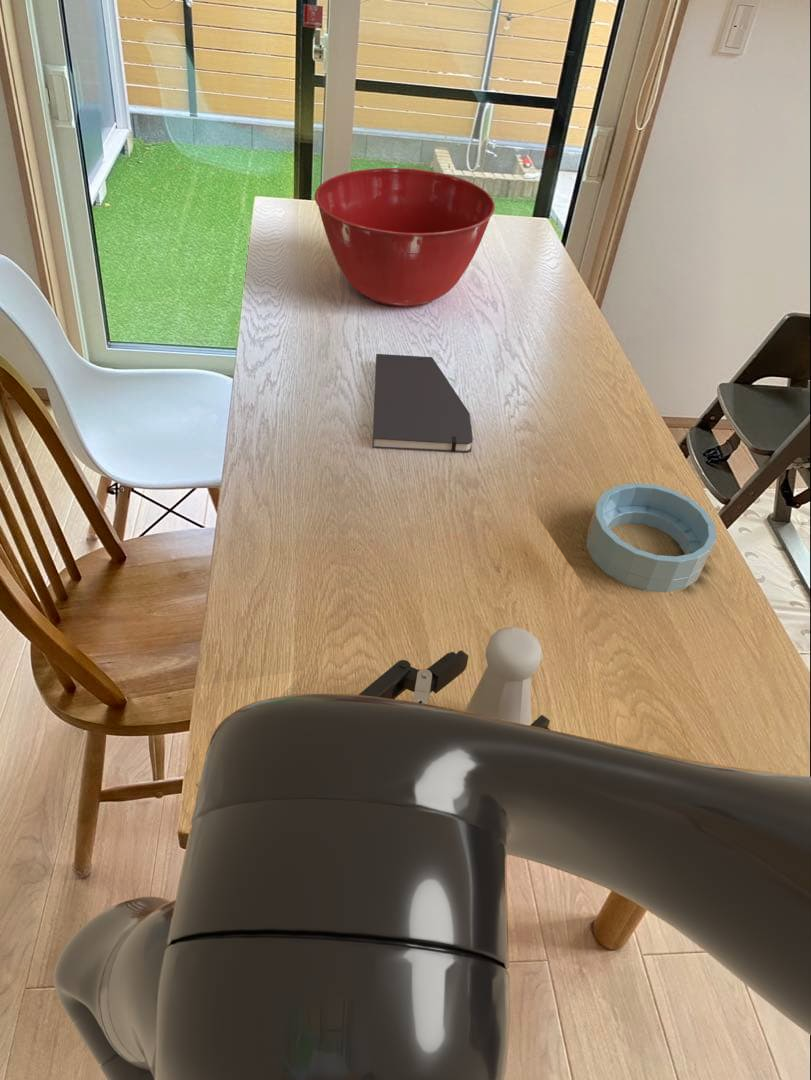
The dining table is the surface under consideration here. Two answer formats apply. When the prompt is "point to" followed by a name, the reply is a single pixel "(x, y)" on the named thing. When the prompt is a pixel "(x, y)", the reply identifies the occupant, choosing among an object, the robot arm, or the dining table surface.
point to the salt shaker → (507, 676)
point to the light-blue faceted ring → (659, 512)
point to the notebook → (417, 407)
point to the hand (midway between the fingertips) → (503, 690)
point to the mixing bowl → (403, 231)
